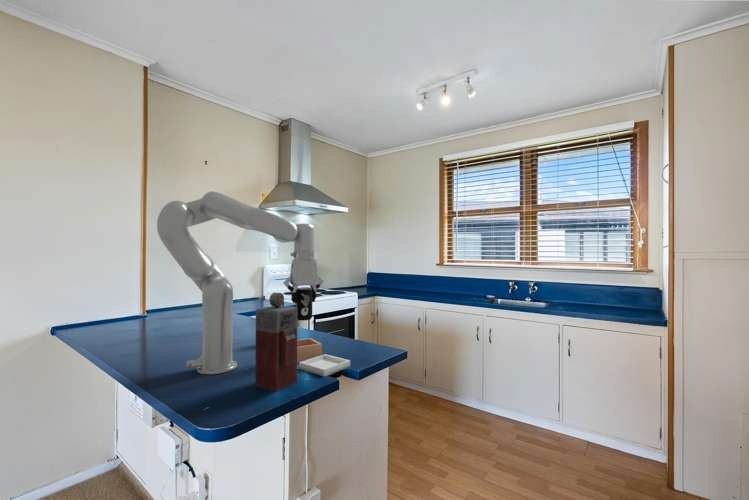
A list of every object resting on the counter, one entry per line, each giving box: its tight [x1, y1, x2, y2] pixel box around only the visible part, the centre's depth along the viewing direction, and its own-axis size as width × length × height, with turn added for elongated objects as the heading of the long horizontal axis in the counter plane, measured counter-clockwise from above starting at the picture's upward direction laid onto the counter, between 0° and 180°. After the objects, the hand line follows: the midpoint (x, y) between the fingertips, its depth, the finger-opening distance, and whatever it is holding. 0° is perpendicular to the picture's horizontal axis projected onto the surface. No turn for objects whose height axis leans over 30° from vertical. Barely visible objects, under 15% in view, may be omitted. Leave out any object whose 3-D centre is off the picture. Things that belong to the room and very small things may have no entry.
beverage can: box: [294, 286, 313, 321], centre depth 132 cm, size 7×7×12 cm
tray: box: [298, 353, 351, 378], centre depth 120 cm, size 13×13×2 cm
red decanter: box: [254, 292, 298, 392], centre depth 105 cm, size 9×11×28 cm
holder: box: [297, 337, 323, 364], centre depth 133 cm, size 11×11×6 cm
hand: (303, 301), depth 132 cm, fingers closed on beverage can, 6 cm apart
